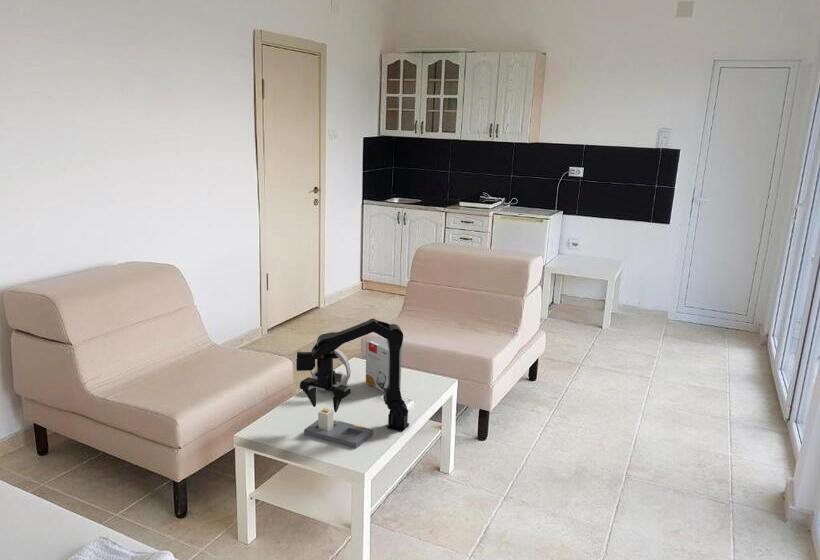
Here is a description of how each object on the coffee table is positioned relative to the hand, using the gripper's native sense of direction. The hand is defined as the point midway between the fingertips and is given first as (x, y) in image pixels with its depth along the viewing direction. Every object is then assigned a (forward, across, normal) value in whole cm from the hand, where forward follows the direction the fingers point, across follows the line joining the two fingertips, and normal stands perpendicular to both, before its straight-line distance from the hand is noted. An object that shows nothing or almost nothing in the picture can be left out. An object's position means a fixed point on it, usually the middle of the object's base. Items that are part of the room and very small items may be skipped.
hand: (325, 409), depth 236 cm
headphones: (+9, +18, -31) cm, 37 cm away
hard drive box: (+9, +1, -47) cm, 48 cm away
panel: (+9, -6, 0) cm, 10 cm away
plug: (+9, 0, 0) cm, 9 cm away
